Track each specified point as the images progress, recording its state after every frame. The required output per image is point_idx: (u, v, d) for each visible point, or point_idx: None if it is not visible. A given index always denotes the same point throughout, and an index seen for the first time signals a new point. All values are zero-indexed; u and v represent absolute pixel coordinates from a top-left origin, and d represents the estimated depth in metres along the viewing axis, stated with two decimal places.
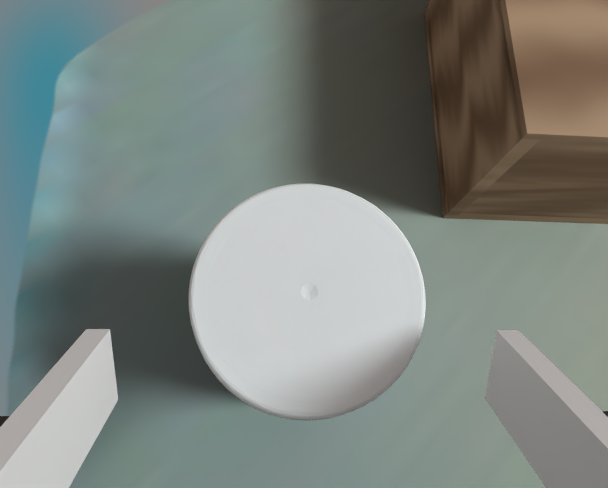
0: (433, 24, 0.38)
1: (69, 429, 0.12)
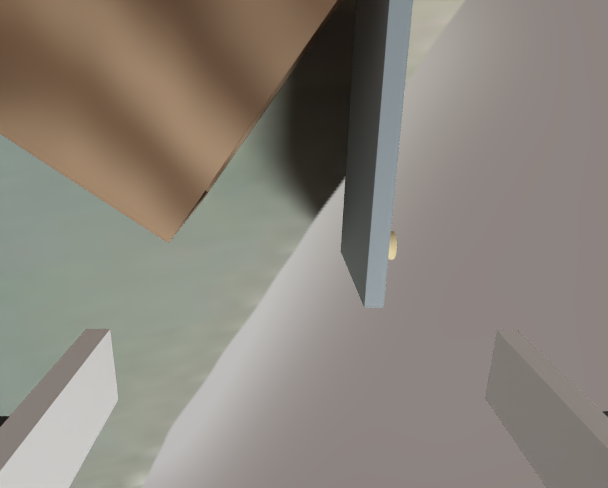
0: None
1: (69, 429, 0.12)
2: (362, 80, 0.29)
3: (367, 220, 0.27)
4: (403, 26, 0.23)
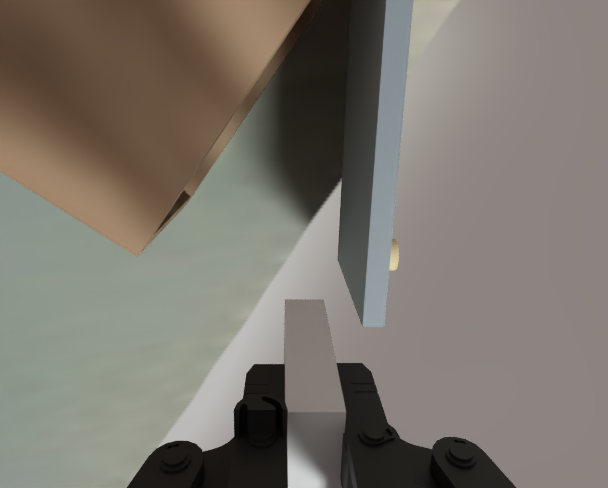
0: None
1: None
2: (358, 70, 0.26)
3: (365, 228, 0.24)
4: (404, 4, 0.20)
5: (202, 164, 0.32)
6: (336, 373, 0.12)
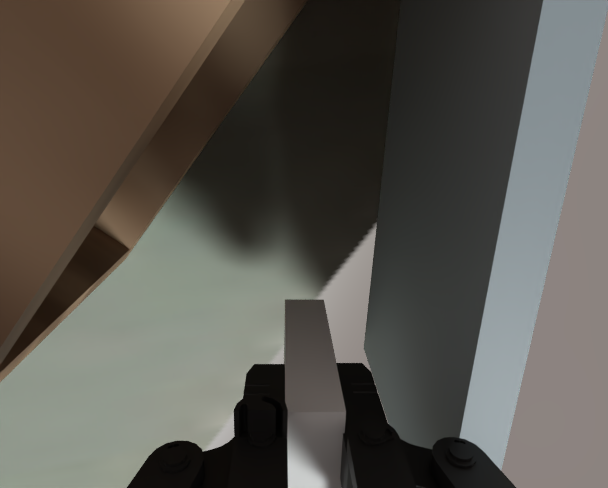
0: None
1: None
2: (431, 42, 0.14)
3: (450, 369, 0.11)
4: None
5: (148, 198, 0.19)
6: (336, 373, 0.12)
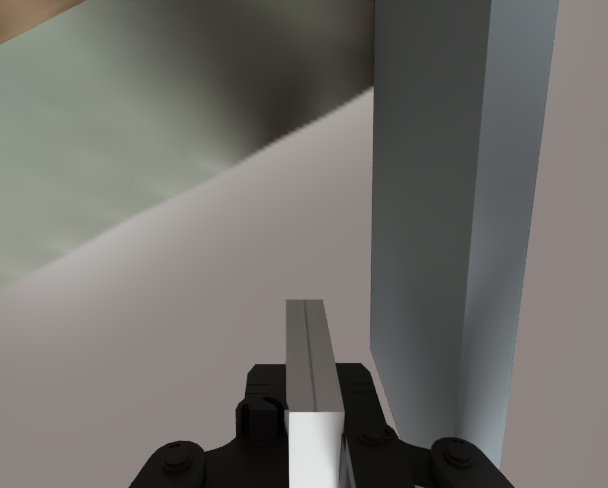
0: None
1: None
2: (403, 43, 0.14)
3: (441, 371, 0.11)
4: None
5: None
6: (335, 373, 0.12)
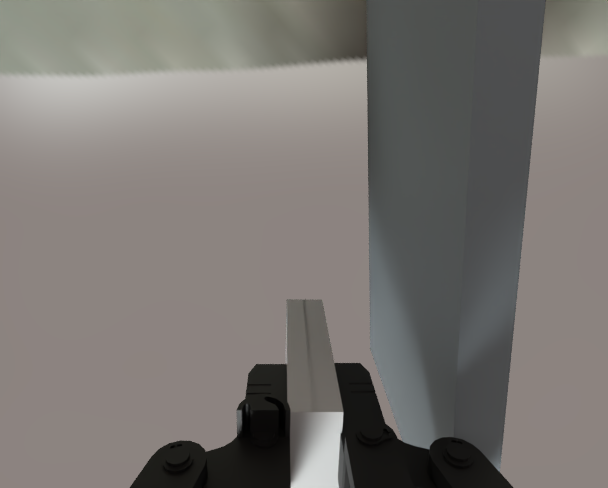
0: None
1: None
2: (394, 43, 0.14)
3: (440, 370, 0.11)
4: None
5: None
6: (334, 373, 0.12)
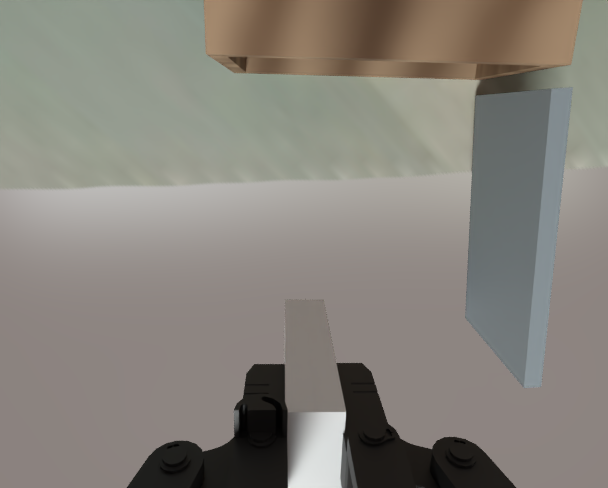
0: None
1: None
2: (496, 180, 0.33)
3: (522, 311, 0.30)
4: (559, 155, 0.26)
5: (277, 65, 0.34)
6: (336, 373, 0.12)
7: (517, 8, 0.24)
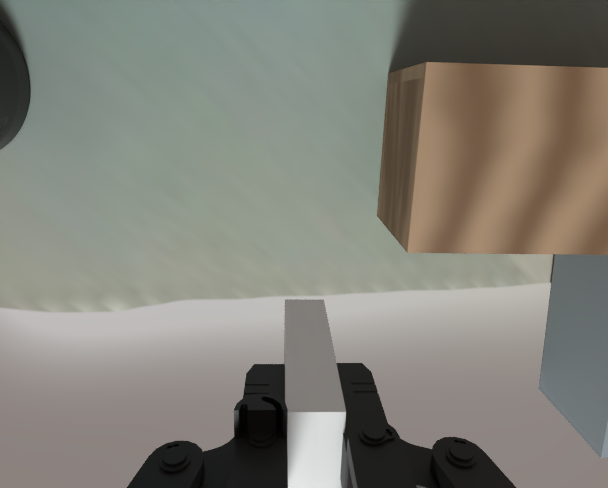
0: None
1: None
2: (578, 302, 0.45)
3: (601, 405, 0.42)
4: None
5: None
6: (336, 373, 0.12)
7: None
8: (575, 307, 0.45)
